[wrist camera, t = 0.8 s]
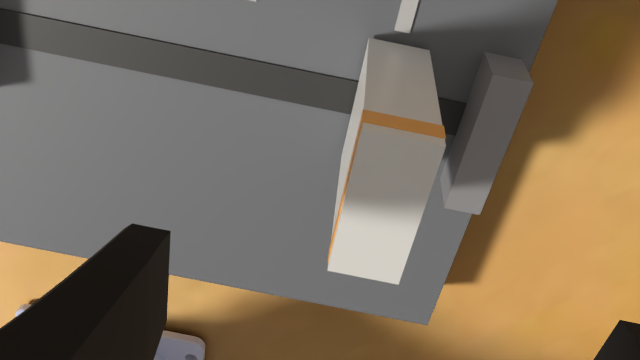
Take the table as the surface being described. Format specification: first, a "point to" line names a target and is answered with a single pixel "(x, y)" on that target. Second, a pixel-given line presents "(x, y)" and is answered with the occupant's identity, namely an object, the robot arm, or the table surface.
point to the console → (245, 130)
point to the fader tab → (386, 162)
